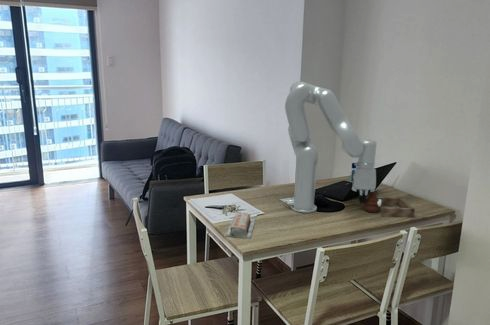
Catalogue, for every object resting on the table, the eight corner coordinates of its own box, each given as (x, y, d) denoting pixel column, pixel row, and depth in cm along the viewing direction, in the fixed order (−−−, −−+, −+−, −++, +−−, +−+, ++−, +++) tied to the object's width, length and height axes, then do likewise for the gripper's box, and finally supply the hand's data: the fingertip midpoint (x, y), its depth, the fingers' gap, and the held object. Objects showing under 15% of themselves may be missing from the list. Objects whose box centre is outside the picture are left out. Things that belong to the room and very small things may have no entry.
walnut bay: (382, 216, 188) (383, 208, 187) (371, 204, 205) (372, 196, 204) (413, 217, 188) (414, 209, 187) (400, 205, 205) (401, 197, 204)
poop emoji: (363, 205, 202) (365, 187, 200) (381, 207, 200) (383, 189, 197) (361, 211, 193) (363, 193, 191) (380, 214, 190) (382, 195, 188)
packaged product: (251, 228, 159) (226, 226, 160) (250, 239, 160) (225, 238, 161) (255, 212, 176) (232, 210, 177) (255, 222, 177) (232, 221, 178)
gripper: (351, 167, 187) (348, 204, 192) (384, 168, 187) (379, 205, 192) (347, 163, 195) (344, 199, 199) (379, 164, 195) (375, 200, 199)
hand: (361, 202), depth 195 cm, fingers closed
